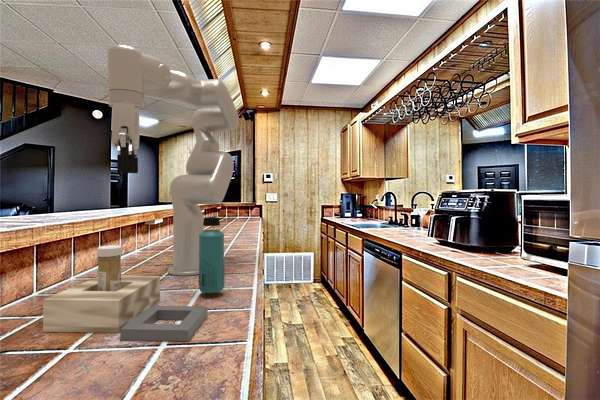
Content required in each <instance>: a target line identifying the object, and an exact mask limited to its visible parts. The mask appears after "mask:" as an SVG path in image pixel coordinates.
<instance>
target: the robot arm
mask: <svg viewBox="0 0 600 400" xmlns="http://www.w3.org/2000/svg"><path fill="white" fill-rule="evenodd" d="M107 81H108V82H107V83H108V84H107V85H108V106H109V107H110V108H112V115H111V120H112V121H111V144H112V146H113V147H114V148H116V149H117V156H116V157H117V158H116V160H117V165H116V166H117V172H118V173H124V174H138V173H139V157H138V149H140V111H143V110H145V96H147V97H155V98H158V99H165V100H173V101H177V102H181V103H184V104H187V105H191V106H195V107H203V108H199V109H197V110H195V111H194V112H193V113H192V117H191V123H192V129H193V131H194V136H195V144H194V147H193V148H192V151H191V153H190V155H189V157H188V159H187V161H186V165H185V171H186V174H182V175H178V176H176V177H174V178H173V179H172V180H171V182H170V185H169V187H170V188H169V190H170V191H169V192H170V197H171V202H172V211H173V212H172V213H173V214H172V216H173V218H172V219H173V220H172V223H173V224H172V229H173V230H172V236H173V237H172V239H173V240H172V242H173V244H172V245H173V247H172V266H169V267H168V268H167V273H168V274H169V275H173V276H180V277H181V276H183V277H184V276H195V275H199V253H198V252H199V251H198V250H199V234H200V233H201V232H202V231H204V230H205V226H203V222H204V218H205V217H204V214H203V212H202V210H201V208H200V206H199V205H218V204H220V203H222V202H223V200H224V199H225V196H226V193H227V192H228V191H227V190H228V188H229V185H230V182H231V179H232V178H233V177H232V176H233V172H234V160H233V157H232V155H231V154H230V153H229V152H227V151H224V150H223V151H222V150H220V148H221V147H220V144H219V143H220V142H218V140H217V138H215V136H214V135H213V134H212V132H218V133H219V132H233V131H235V130H237V128H238V127H239V124H240V119H239V118H240V117H239V113H238V110H237V108H236V106H235V103H234V100H233V98H232V95H231V93H230V91H229V89H228V87H227V85H226V84H225V83H224V82H223V81H222V80H221V79H219V78H218V79H217V78H214V79H212V78H211V79H210V78H209V79H197V78H195V77H193V76H192V75H189V74H187V73H185V72H183V71H179V70H171V69H170V67H169V65H168V64H167V63H166V62H165V61H163V60H162V59H160V58H159V57H155V56H151V55H148V54H145V53H143V52H141V51H140V50H139V49H138V48H135V47H133V46H130V45H125V44H124V45H123V44H114V45H111V46H109V47H108V49H107ZM214 106H216V107H214ZM217 106H218V107H217Z"/></svg>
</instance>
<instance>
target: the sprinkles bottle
mask: <svg viewBox="0 0 600 400" xmlns="http://www.w3.org/2000/svg"><path fill="white" fill-rule="evenodd" d="M122 252H123V247H122V245H118V244H117V245H116V244H115V245H114V244H113V245H111V244H110V245H103V246H102V245H101V246H98V247H97V248H96V256H97V263H98V264H97V277H98V291H118V290H120V289H121V275H122V266H121V264H122V254H123V253H122Z"/></svg>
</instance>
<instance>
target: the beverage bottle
mask: <svg viewBox="0 0 600 400" xmlns="http://www.w3.org/2000/svg"><path fill="white" fill-rule="evenodd" d="M220 221H221V220H220V217H217V216H207V217H204V222H203V226H204V227H205V226H206V227H217V226H221V223H220ZM198 251H199V252H198V253H199V274H198V286H197V287H198V289H199V291H200V292H202V293H206V294H207V293H208V294H211V293H213V294H214V293H219V292H221V291H223V290H224V288H225V234H224V232H222V230H220V229H204V231H202V232H201V233H200V234H199V250H198Z"/></svg>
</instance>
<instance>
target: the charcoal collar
mask: <svg viewBox="0 0 600 400" xmlns="http://www.w3.org/2000/svg"><path fill="white" fill-rule="evenodd" d="M208 310H209V309H208V306H203V305H202V306H198V305H197V306H194V305H191V306H190V305H189V306H187V305H154V306H150V307H149V308H147V309H146V310H145V311H144V312H142V313H141V314H140V315H138V316H137V317H136V318H134V319H133V320H132V321H130V322H129V323H128V324H126V325H125V326H124V327H123V328H121V329H120V332H119V333H120V334H119V336H120V339H119V340H120V341H136V342H137V341H140V342H141V341H142V342H143V341H144V342H145V341H146V342H189V341H190V340H191V338H192V337H193V336H194V335H195V334H196V332H197V331H198V329H199V328H200V327H201V325H202V324H203V322H205V320H206V318H207V317H208V314H209V313H208ZM160 320H161V321H162V320H163V321H181V322H180V323H179V324H176V323H156V322H157V321H160Z"/></svg>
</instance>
